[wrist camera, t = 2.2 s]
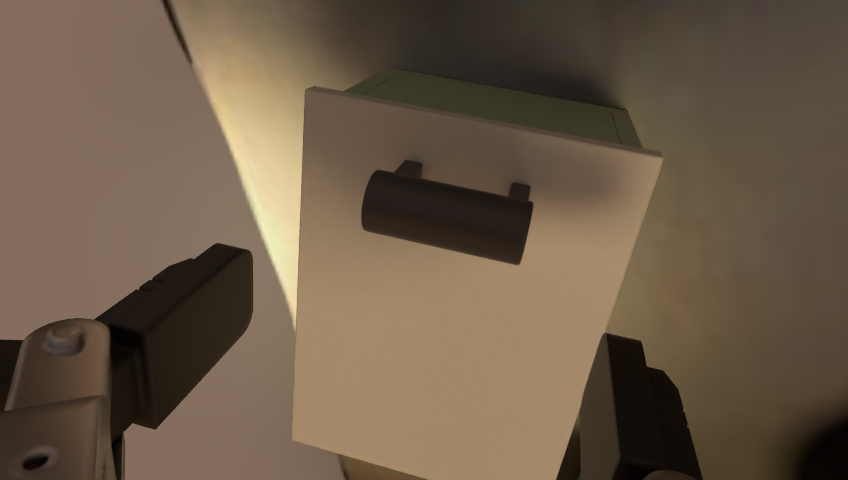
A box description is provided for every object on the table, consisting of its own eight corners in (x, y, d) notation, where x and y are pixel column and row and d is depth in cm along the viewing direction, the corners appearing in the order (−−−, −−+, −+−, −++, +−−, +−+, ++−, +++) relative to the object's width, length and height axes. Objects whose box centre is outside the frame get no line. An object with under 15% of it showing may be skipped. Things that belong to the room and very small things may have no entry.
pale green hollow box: (388, 67, 31) (312, 106, 22) (627, 110, 29) (654, 172, 20) (363, 320, 38) (298, 428, 29) (551, 368, 37) (545, 499, 27)
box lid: (312, 85, 21) (240, 115, 17) (661, 151, 20) (690, 206, 15) (297, 429, 29) (245, 515, 25) (545, 500, 27) (540, 608, 23)
